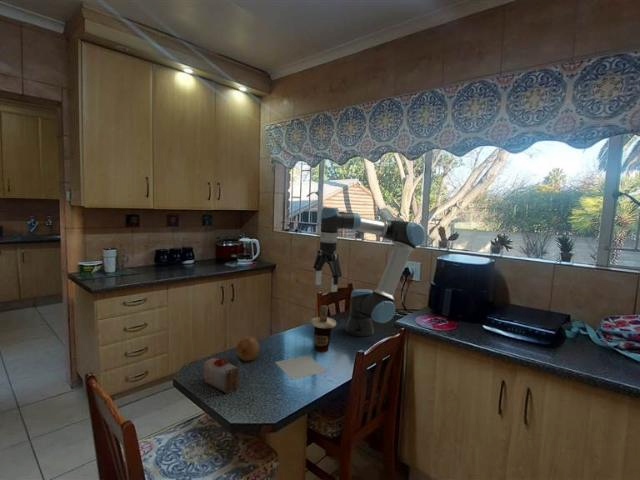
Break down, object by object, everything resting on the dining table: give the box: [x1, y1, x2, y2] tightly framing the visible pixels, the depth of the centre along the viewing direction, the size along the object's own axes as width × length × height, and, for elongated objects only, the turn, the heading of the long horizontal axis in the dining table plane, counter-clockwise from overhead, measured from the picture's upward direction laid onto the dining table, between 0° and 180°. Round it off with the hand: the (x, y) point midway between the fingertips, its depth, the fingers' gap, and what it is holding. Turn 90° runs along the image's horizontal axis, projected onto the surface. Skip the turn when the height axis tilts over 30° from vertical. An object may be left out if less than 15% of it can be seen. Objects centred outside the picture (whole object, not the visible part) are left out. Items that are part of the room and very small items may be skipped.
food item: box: [203, 357, 240, 394], centre depth 127 cm, size 14×8×10 cm, turn 56°
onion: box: [236, 335, 261, 362], centre depth 148 cm, size 10×10×10 cm
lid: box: [309, 304, 337, 329], centre depth 160 cm, size 12×12×8 cm
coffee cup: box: [313, 326, 333, 353], centre depth 161 cm, size 9×8×13 cm
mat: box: [274, 355, 327, 381], centre depth 143 cm, size 16×16×1 cm
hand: (325, 288), depth 158 cm, fingers open, 13 cm apart
